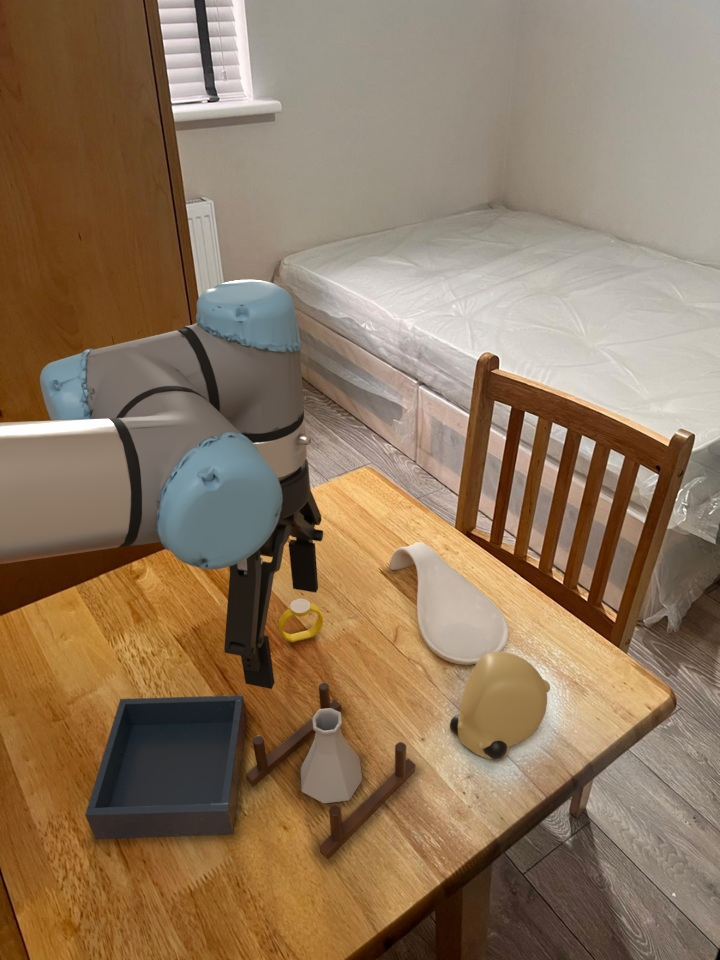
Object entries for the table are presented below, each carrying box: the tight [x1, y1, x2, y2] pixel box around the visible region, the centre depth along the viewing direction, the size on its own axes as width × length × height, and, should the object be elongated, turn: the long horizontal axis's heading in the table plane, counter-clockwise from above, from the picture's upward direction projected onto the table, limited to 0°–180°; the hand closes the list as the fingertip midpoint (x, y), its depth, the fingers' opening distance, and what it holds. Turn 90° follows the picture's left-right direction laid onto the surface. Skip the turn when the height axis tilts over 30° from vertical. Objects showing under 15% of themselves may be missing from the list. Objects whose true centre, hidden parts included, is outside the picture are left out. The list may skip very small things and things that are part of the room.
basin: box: [85, 694, 248, 840], centre depth 82 cm, size 15×15×5 cm
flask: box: [300, 708, 363, 804], centre depth 80 cm, size 7×7×10 cm
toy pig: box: [449, 651, 551, 761], centre depth 85 cm, size 10×12×11 cm
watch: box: [277, 598, 324, 643], centre depth 99 cm, size 6×3×6 cm, turn 111°
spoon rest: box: [388, 541, 510, 665], centre depth 101 cm, size 24×12×7 cm, turn 25°
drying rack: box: [245, 681, 416, 860], centre depth 81 cm, size 14×13×6 cm
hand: (284, 632), depth 76 cm, fingers open, 13 cm apart
